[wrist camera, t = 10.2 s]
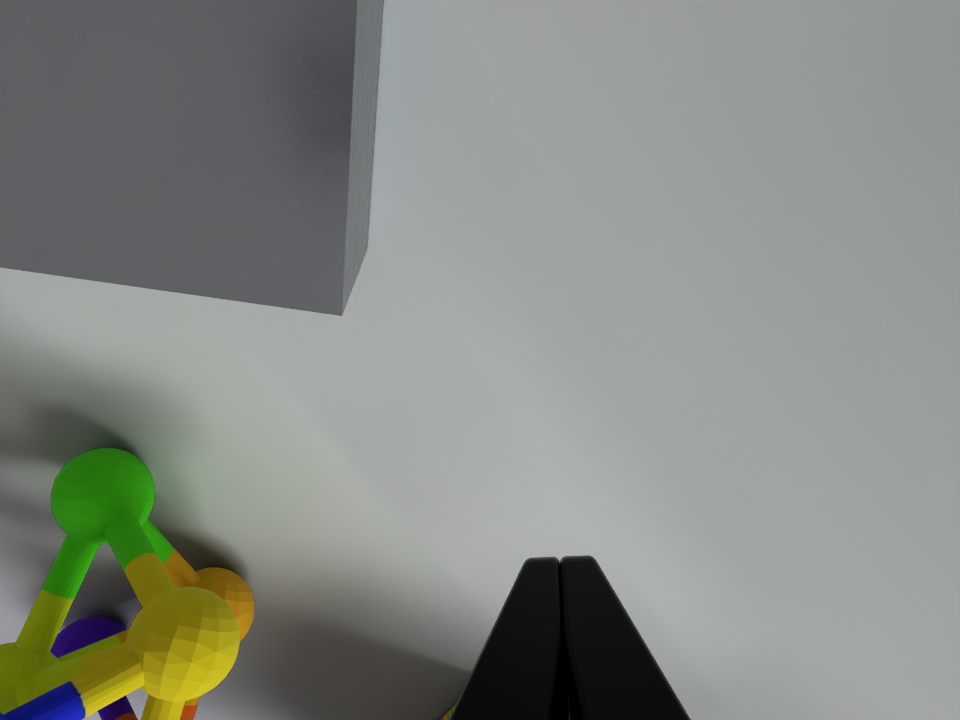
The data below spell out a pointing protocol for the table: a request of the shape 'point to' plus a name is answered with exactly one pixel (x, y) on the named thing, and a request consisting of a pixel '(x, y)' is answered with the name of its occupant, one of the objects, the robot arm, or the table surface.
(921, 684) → the table surface
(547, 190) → the table surface
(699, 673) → the table surface
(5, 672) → the molecular model
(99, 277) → the slate plate
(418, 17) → the table surface
